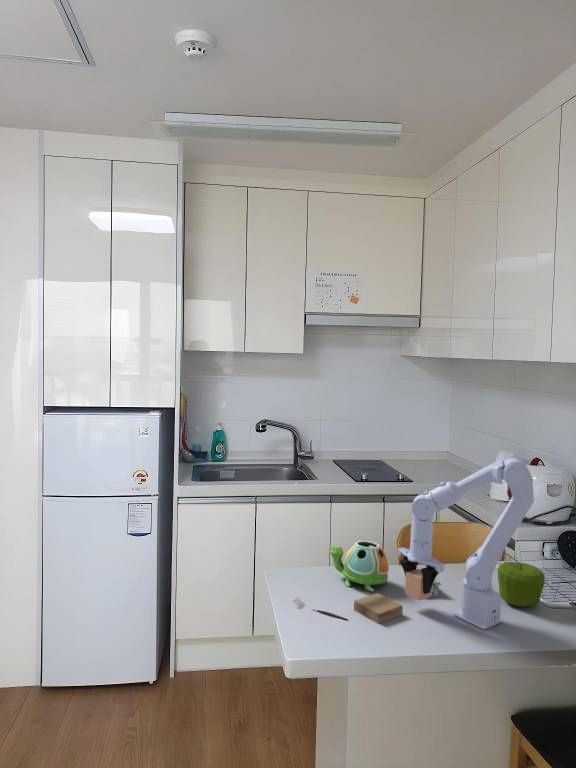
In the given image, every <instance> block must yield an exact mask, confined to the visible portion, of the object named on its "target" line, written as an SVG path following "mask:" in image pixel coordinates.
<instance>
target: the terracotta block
mask: <svg viewBox="0 0 576 768" xmlns="http://www.w3.org/2000/svg"><path fill="white" fill-rule="evenodd" d="M404 584H405V585H404V589H405V590H404V595H406V596H409V597H411V598H413V599H414V600H417V601H422V600H425V599H428V598H430V597H433V596H432V588H431V591H430V593H427V594H424V593H423V577H422V572H421V568H416V569H415V570H412V571H409V572H406V577H405V583H404Z"/></svg>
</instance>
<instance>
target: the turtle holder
mask: <svg viewBox="0 0 576 768" xmlns="http://www.w3.org/2000/svg"><path fill="white" fill-rule="evenodd" d="M370 546H372V547H370ZM329 553H330V555H331V557H332V562H333V565H334V568H335V569H336V571H338V572H339V573H341V574H342V575H343V576H344V577H345V586H346V587H349V588H350V587H352V582H354V583H356V584H361V585H364V589H365V590H366V591H368V592H375V589H374V587H373V586H374V585H375V586H376V585H382V584H385V585H386V584H387V583H388V582H387V580H388V579H389V575H388V574H389V563H388V560H387V556H386V553H385V551H384V549H383V548H382V547H381V546H380V544H379V543H376V542H373V541H368V540H358V541H356V542H355V543H354V544H353V546H352V547H350V548H349V549H348V550H347V552H346V553H345V557H344V560H343V561H342V557H343V556H344V551H343V547H342V546H341V545H332V547H331V549H330V551H329ZM372 585H373V586H372Z"/></svg>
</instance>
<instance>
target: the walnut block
mask: <svg viewBox="0 0 576 768" xmlns="http://www.w3.org/2000/svg"><path fill="white" fill-rule="evenodd" d="M403 608H404V606H403V605H402V604H400V603H398V602H397V601H395V600H392V599H390V598H389V597H387V596H385V595H383V594H381V593H378V592H377V593H373V594H370V595H367V596H365V597H364V596H363V597H362V598H361V597H360V598H359V599H355V600H354V601H353V611H355V612H356V613H358V614H360V615H362V616H364V617H365V618H367V619H369V620H371V621H373V622H374V623H376V624H381V623H385V622H388V621H391V620H393V619H395V618H398V617H401V616H403V610H404V609H403Z"/></svg>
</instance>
